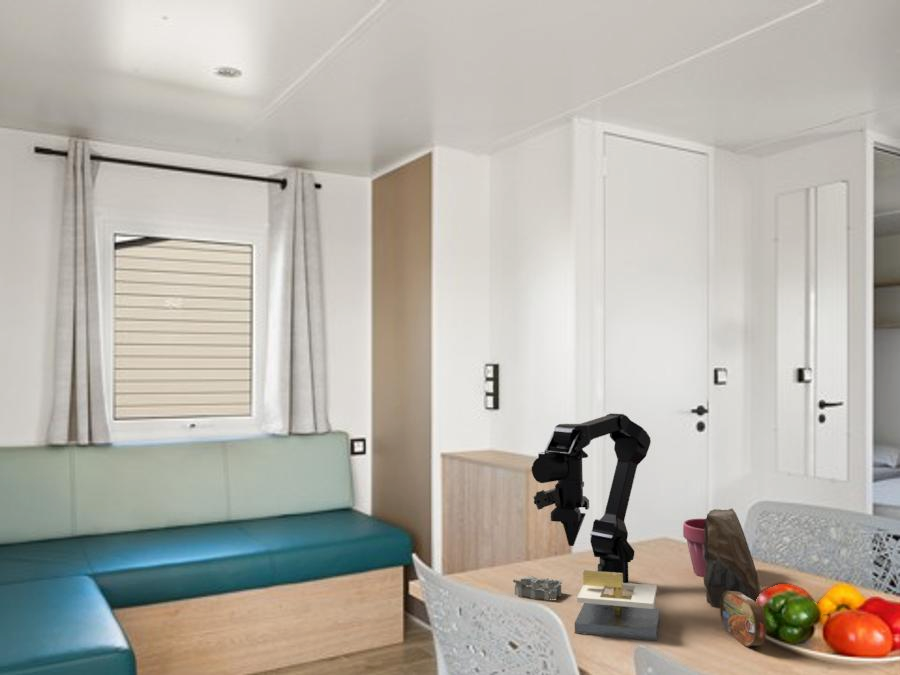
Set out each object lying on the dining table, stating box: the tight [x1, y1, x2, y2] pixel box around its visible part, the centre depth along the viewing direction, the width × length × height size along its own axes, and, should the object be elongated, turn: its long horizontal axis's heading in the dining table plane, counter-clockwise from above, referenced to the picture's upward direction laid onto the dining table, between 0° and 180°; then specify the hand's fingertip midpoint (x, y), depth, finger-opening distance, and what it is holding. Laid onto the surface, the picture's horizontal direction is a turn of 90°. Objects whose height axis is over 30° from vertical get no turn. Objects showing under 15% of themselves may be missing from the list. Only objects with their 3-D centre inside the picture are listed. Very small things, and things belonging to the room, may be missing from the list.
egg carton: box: [512, 575, 563, 601], centre depth 182 cm, size 11×8×4 cm
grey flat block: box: [574, 603, 661, 641], centre depth 160 cm, size 16×14×2 cm
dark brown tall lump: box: [703, 507, 762, 609], centre depth 177 cm, size 13×13×20 cm
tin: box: [719, 591, 767, 647], centre depth 152 cm, size 15×3×8 cm, turn 5°
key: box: [582, 569, 632, 616], centre depth 161 cm, size 11×2×8 cm, turn 72°
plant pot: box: [682, 518, 706, 578], centre depth 198 cm, size 14×14×13 cm
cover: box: [576, 582, 658, 609], centre depth 161 cm, size 15×13×1 cm
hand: (571, 545), depth 180 cm, fingers closed
